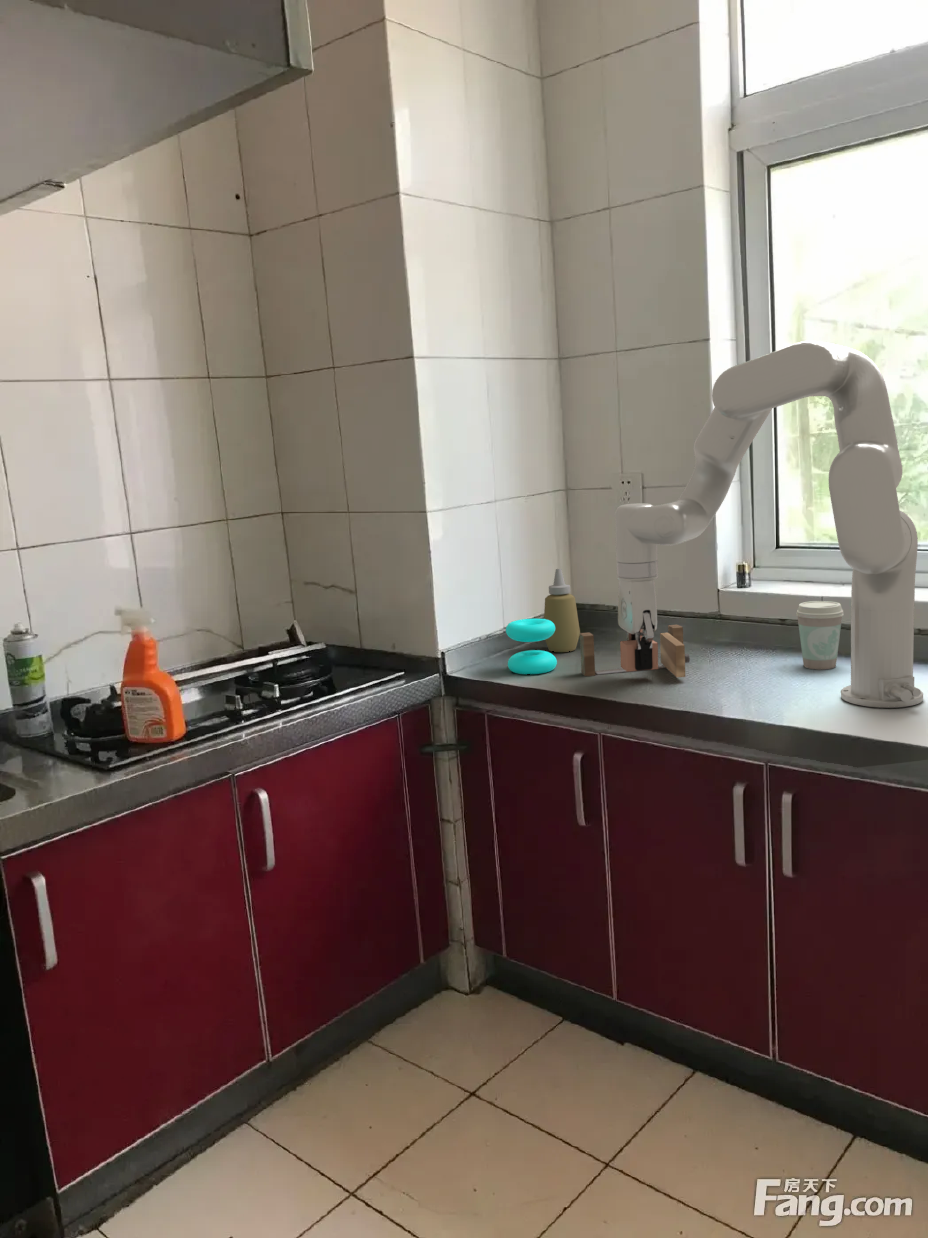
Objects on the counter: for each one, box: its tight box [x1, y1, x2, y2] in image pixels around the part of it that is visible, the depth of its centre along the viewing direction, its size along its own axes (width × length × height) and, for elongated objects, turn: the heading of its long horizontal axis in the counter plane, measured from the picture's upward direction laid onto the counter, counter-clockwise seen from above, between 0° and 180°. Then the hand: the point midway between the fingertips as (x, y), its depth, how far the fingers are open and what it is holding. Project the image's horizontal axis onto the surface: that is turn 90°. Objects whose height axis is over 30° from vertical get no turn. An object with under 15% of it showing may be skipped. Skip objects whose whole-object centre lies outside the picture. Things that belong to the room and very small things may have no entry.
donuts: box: [505, 618, 558, 675], centre depth 201 cm, size 10×10×10 cm
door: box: [659, 632, 691, 678], centre depth 190 cm, size 3×12×6 cm, turn 2°
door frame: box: [579, 624, 684, 677], centre depth 196 cm, size 3×20×8 cm, turn 98°
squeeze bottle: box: [543, 568, 581, 653], centre depth 217 cm, size 8×8×18 cm
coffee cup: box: [795, 600, 845, 671], centre depth 189 cm, size 9×8×12 cm
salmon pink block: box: [619, 639, 659, 673], centre depth 187 cm, size 4×6×5 cm, turn 98°
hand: (640, 665), depth 188 cm, fingers closed on salmon pink block, 4 cm apart
